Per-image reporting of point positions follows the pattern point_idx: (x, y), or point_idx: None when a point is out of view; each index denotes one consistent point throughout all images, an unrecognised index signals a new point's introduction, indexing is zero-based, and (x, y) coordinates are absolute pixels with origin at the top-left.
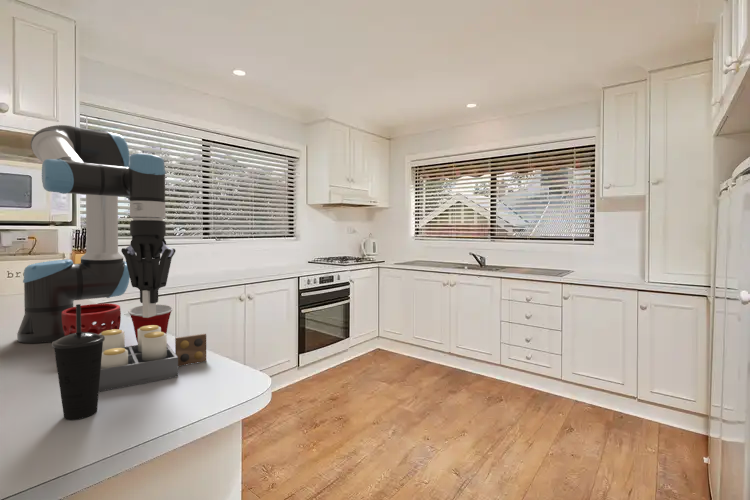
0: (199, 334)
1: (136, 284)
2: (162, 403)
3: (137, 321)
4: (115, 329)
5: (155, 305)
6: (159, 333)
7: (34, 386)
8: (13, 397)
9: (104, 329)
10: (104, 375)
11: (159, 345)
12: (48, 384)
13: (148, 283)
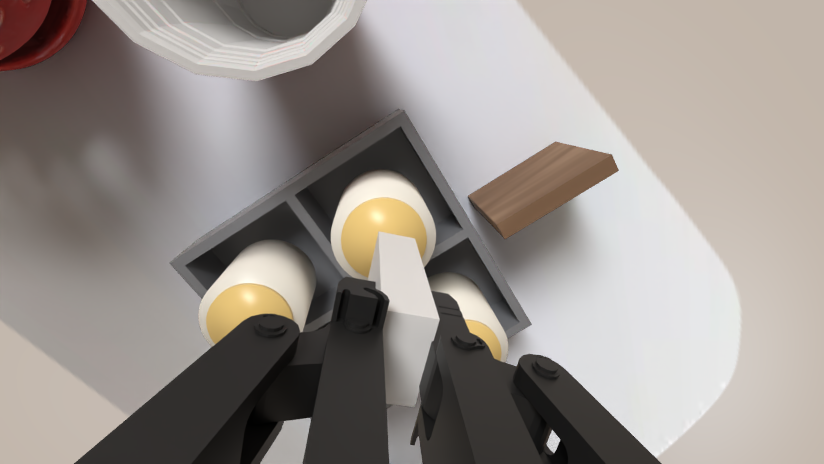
0: (589, 174)
1: (281, 421)
2: None
3: (213, 50)
4: (241, 289)
5: (420, 264)
6: None
7: (139, 360)
8: None
9: (9, 20)
10: None
11: None
12: (167, 347)
13: (425, 455)
